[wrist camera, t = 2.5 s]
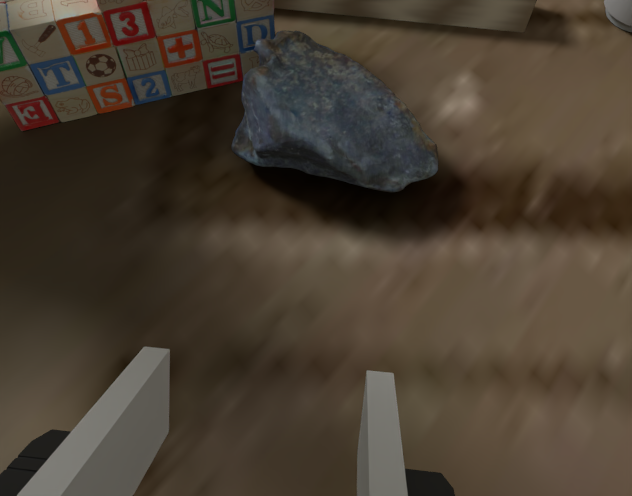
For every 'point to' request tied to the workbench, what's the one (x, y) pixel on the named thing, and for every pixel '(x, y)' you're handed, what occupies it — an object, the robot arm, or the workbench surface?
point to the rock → (328, 118)
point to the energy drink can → (620, 13)
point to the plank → (428, 11)
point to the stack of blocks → (121, 52)
